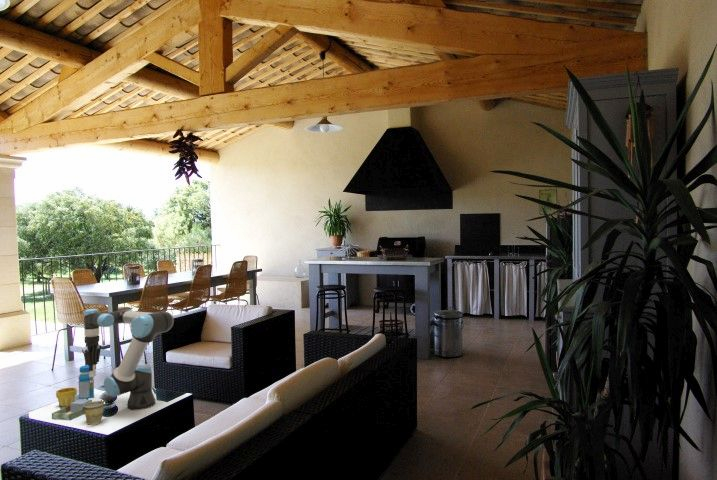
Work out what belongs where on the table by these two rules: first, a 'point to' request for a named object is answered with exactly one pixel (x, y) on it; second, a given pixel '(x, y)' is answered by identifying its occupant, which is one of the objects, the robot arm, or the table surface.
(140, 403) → the robot arm
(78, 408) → the slate block
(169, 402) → the table surface
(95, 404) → the ceramic cup
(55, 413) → the lane box
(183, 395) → the table surface
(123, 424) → the table surface
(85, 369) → the beverage bottle
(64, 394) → the plant pot
